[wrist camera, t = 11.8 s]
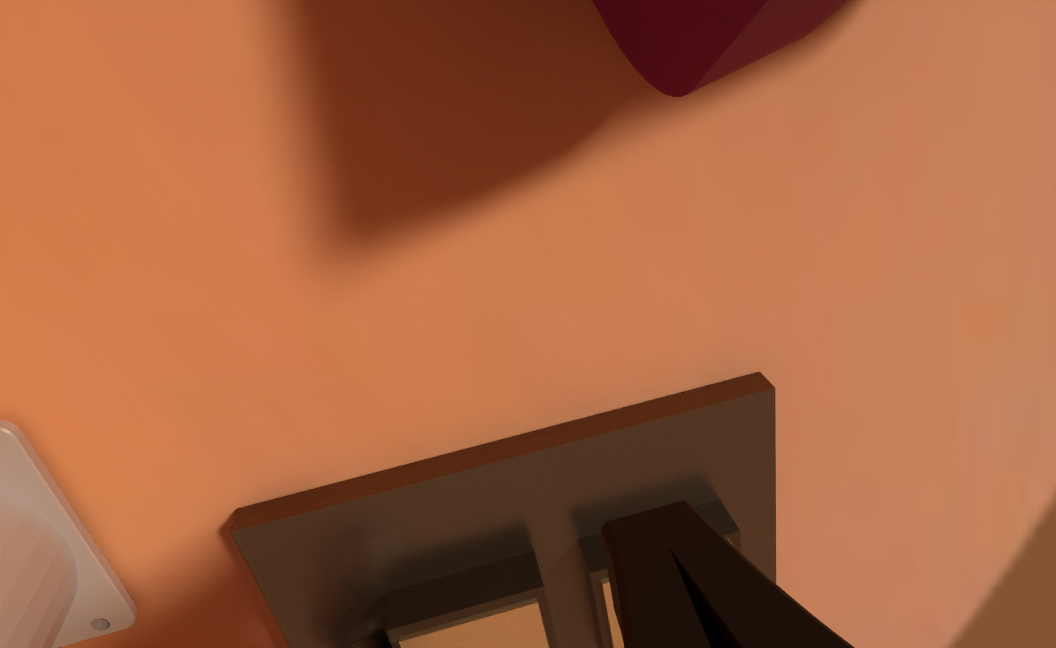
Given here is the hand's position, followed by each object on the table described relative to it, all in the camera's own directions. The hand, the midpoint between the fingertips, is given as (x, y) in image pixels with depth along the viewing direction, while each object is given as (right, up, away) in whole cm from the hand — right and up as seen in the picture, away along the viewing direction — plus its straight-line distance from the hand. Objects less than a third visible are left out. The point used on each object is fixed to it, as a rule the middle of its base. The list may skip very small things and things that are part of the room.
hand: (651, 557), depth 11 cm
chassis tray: (-1, -6, +15) cm, 16 cm away
